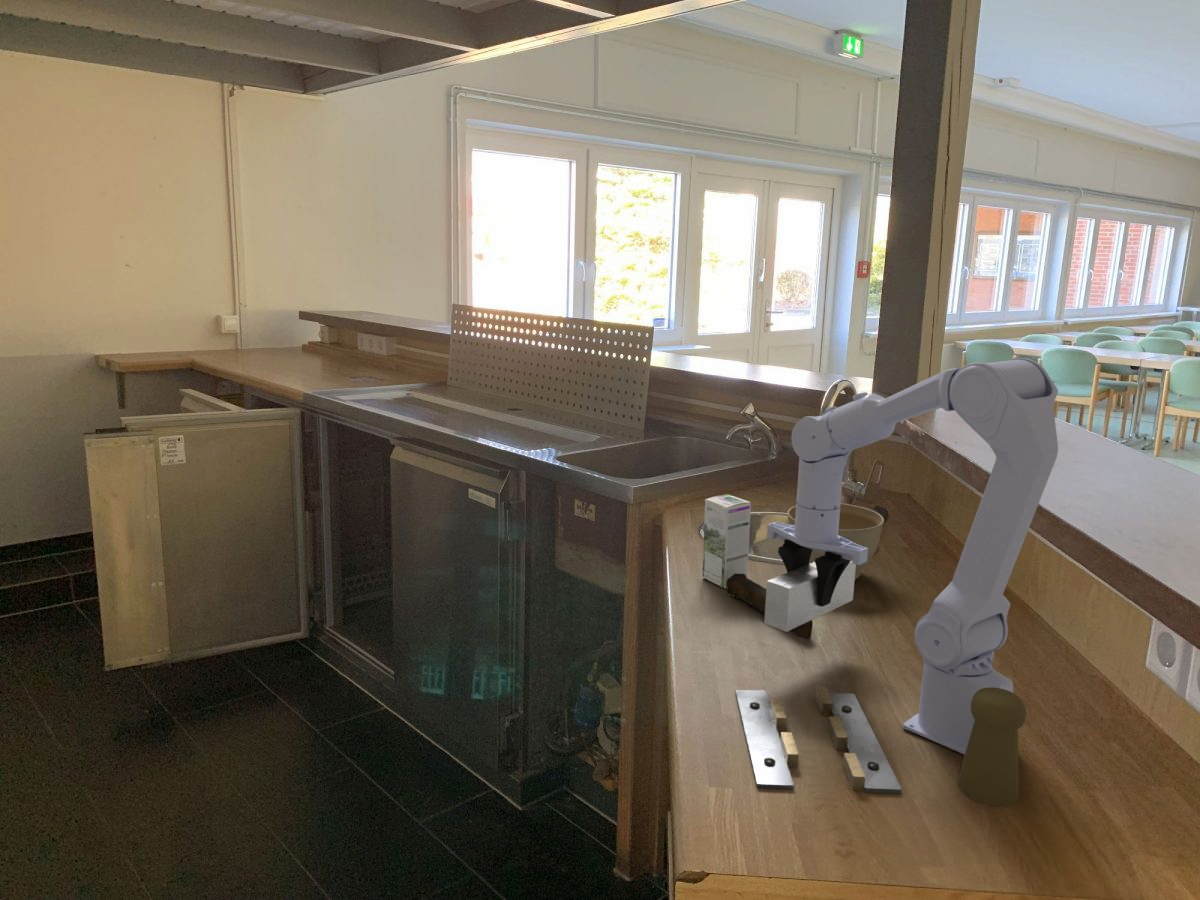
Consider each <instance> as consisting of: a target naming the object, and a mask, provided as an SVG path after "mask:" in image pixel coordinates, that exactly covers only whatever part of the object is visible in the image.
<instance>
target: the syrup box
mask: <svg viewBox="0 0 1200 900" xmlns="http://www.w3.org/2000/svg"><path fill="white" fill-rule="evenodd" d="M751 510H752V503H751V501H748V500H745V499H743V498H739V497H737V496H734V495H731V494H720V495H715V496H712V497H709V498H705V501H704V519H703V520H704V524H703V525H704V526H703V546H702V547H703V549H702V551H703V552H702V573H701V574H702V576H703V577H705V578H707V579H709V580H711V581H713V582H715V583H717V584H719V585H720V586H722V587H727V586H726V582H727V579H729V578H730V577H731V576H732V575H733V574H735V573H736V574H739V573H740V574H745V575H746V577H747V578H748V576H749V575H748V574H749V572H748V571H749V551H750V549H749V548H750V533H751V532H750V530H751ZM748 579H749V578H748ZM720 586H719V587H720ZM722 587H721V588H722Z"/></svg>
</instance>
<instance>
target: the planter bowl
mask: <svg viewBox="0 0 1200 900" xmlns="http://www.w3.org/2000/svg"><path fill="white" fill-rule="evenodd" d="M786 513H787V515H786V516H787V519H788V520H787V521H788V525H795V515H796V505H794V506H792V507H790V508H789V509H788V510H787V512H786ZM884 522H885V519H884V517H883V516H882V515H881V514H880V513H879V512H877V511H875V510H873V509H870V508H867V507H863V506H860V505H853V504H849V503H842V502H841V504H840V517H839V529H838V535H839V536H841V537H843V538H845V539H847V540H849V541H851V542H853V543H856V544H858V545H860V546H863V547H866V548H868V555H867V562H865V563H863V564H860V565H856V570H855V580H857V579H858V578H859V577H860V574H861V571H862V570H863V569H864V568H865V567H866V566H867V564H868V563H869V562H870V561H871V560H872V558H873V556H874V555H875V553H876V551H877V549H878V546H879V543H880V540H881V534H882V529H883V527H884ZM821 556H825V553H823V552H820V551H817V550H812V553H811V557H810V560H809V564H810V563H813V562H815V559H816V558H819V557H821Z"/></svg>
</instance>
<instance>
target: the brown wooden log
mask: <svg viewBox="0 0 1200 900" xmlns="http://www.w3.org/2000/svg"><path fill="white" fill-rule="evenodd" d="M726 586H727V588H726V592H727V594H730V595H729V596H731V595H733V598H734V599H740V600H742V601H743V602H745V603H747V604H749V605H750V606H752V607H753V608H754V609H757V610H759V611H760V612H762V613H764V614H765V605H766V589H767V588H764V587H763V586H761V585H760V584H759V583H756V582H754V580H752V579H749V578H747V577H746V575H745V574H740V573H739V574H736V573H735V574H733V575H732V576H731V577H730V578H729V579H727V582H726ZM812 630H813V619H812V620H810V621H808V622H806V623H804V624H802V625H800V626H798V627H796V628H794V629H791V630H789V631H788V632H790V633H792V634H795V635H798V636H801V637H804V638H807V639H810V638H811V637H812Z"/></svg>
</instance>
